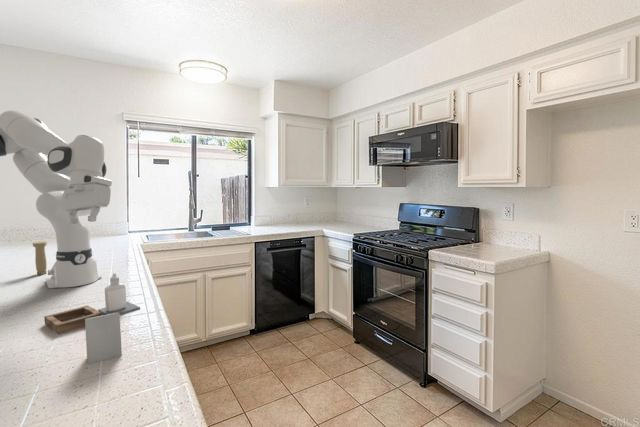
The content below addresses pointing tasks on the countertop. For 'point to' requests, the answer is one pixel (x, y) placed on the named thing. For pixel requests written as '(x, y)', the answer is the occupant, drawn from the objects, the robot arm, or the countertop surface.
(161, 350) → the countertop surface
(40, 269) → the handle
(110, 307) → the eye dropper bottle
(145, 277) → the countertop surface
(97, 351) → the white rectangular box
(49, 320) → the block
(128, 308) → the coaster
